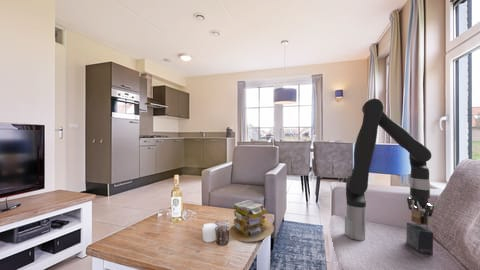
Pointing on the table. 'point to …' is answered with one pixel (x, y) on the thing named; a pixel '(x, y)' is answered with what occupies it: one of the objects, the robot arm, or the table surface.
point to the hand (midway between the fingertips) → (419, 221)
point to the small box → (419, 238)
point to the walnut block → (417, 217)
